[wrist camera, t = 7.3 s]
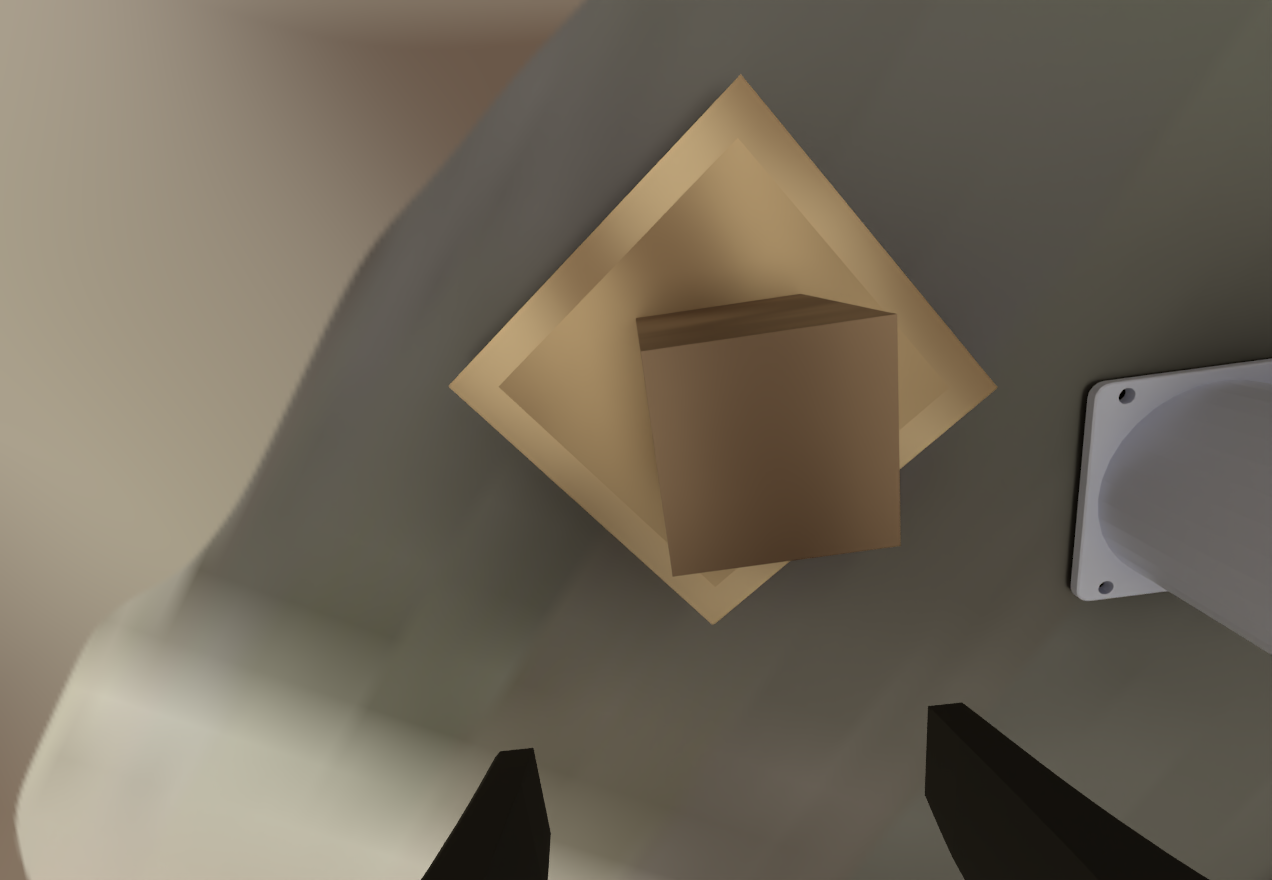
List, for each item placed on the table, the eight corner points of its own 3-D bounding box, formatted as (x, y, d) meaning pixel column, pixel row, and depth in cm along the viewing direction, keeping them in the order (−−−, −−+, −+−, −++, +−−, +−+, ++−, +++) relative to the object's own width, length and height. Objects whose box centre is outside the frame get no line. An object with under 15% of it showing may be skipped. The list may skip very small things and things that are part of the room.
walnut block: (801, 293, 16) (896, 313, 10) (810, 450, 17) (900, 545, 12) (635, 318, 16) (640, 351, 10) (657, 472, 18) (672, 577, 12)
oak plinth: (724, 99, 17) (741, 73, 15) (951, 371, 19) (998, 387, 17) (470, 370, 19) (447, 386, 17) (703, 584, 22) (713, 626, 19)
